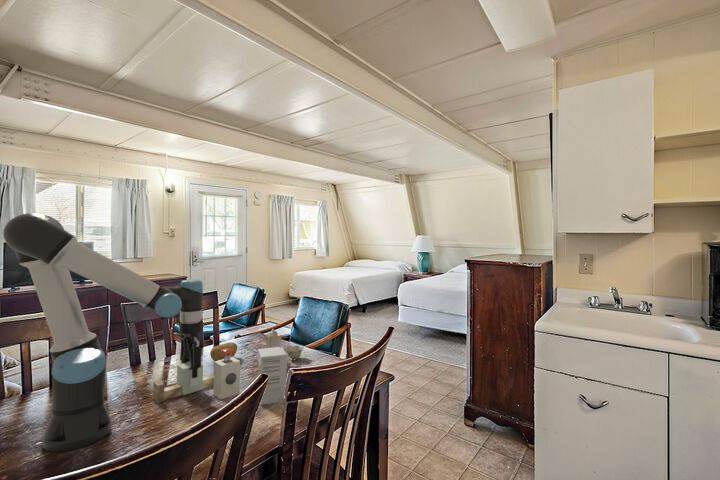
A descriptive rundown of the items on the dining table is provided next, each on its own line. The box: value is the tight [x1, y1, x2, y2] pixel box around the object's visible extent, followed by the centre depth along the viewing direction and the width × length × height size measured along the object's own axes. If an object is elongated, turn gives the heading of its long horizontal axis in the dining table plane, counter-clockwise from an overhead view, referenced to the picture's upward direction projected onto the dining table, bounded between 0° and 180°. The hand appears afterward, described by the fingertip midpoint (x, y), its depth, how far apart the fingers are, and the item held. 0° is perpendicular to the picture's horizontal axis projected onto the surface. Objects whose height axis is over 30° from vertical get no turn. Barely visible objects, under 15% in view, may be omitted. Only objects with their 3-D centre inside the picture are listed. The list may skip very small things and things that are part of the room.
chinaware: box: [265, 328, 304, 361], centre depth 156 cm, size 28×17×17 cm, turn 170°
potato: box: [209, 341, 238, 362], centre depth 159 cm, size 10×14×8 cm
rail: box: [152, 373, 214, 404], centre depth 129 cm, size 26×5×6 cm, turn 137°
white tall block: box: [213, 356, 241, 400], centre depth 126 cm, size 7×6×12 cm
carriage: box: [176, 362, 204, 396], centre depth 128 cm, size 7×6×10 cm
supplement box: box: [257, 346, 288, 406], centre depth 124 cm, size 10×9×17 cm
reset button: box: [221, 348, 234, 363], centre depth 126 cm, size 4×4×4 cm
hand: (189, 382), depth 128 cm, fingers closed on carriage, 6 cm apart
